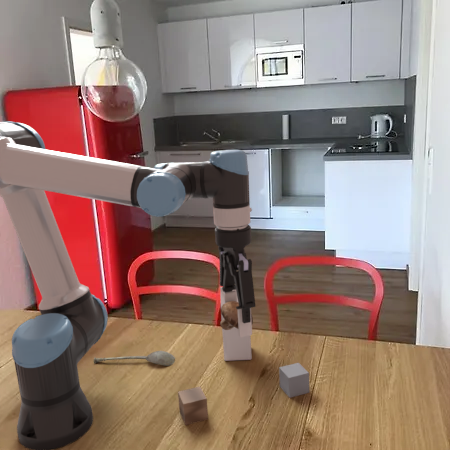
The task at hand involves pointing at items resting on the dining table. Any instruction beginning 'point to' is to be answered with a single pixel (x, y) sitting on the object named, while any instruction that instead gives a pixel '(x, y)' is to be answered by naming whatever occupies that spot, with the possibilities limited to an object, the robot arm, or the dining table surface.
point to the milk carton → (235, 341)
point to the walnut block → (193, 405)
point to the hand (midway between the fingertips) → (238, 326)
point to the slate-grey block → (294, 380)
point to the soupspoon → (148, 358)
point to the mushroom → (230, 315)
